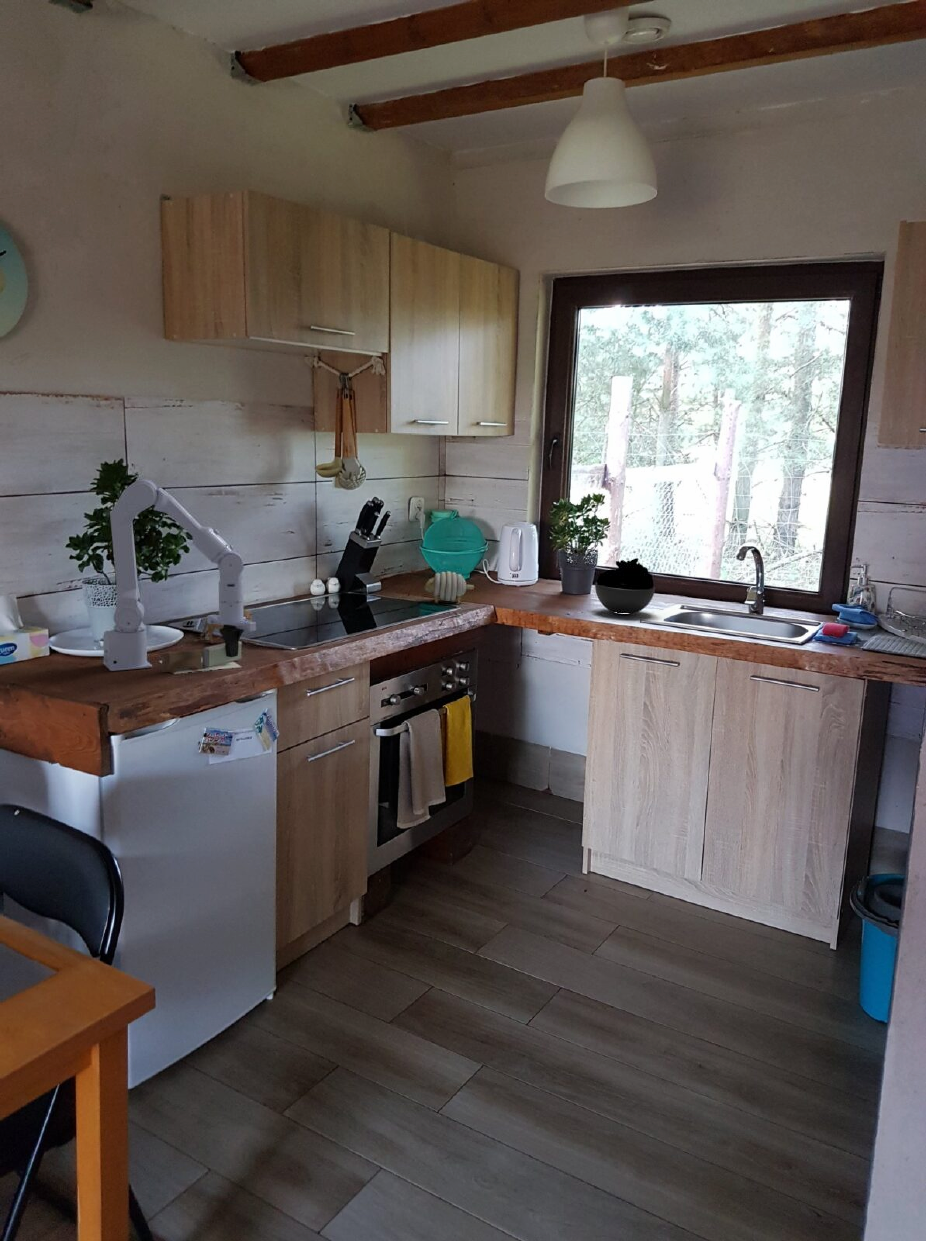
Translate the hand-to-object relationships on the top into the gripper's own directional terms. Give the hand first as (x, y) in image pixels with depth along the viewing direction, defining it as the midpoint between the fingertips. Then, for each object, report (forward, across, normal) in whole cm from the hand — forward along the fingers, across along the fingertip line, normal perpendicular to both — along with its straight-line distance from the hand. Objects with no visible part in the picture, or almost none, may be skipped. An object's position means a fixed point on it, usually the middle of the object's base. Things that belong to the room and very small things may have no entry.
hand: (231, 656), depth 229 cm
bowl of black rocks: (+3, -44, -136) cm, 143 cm away
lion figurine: (+2, +19, -16) cm, 25 cm away
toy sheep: (+3, +10, -110) cm, 110 cm away
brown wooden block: (+2, +4, +12) cm, 13 cm away
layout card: (+2, +5, +5) cm, 8 cm away
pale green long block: (+1, +1, +2) cm, 3 cm away
